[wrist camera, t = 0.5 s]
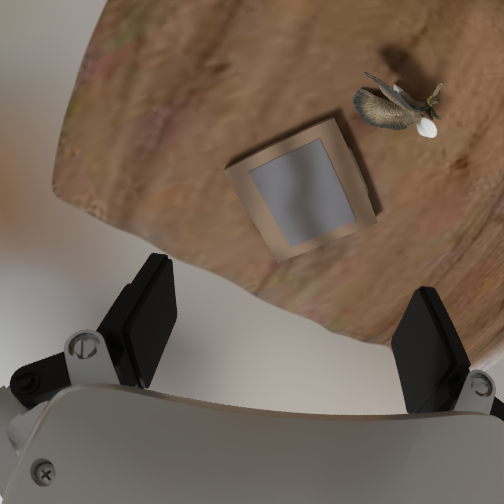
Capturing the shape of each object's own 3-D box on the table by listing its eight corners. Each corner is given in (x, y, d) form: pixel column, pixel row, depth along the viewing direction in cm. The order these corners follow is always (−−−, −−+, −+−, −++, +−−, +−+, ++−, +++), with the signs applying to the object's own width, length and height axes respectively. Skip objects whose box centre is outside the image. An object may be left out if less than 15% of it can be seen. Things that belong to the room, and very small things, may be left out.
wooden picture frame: (334, 115, 31) (336, 116, 30) (377, 216, 37) (380, 222, 36) (225, 167, 36) (222, 171, 35) (278, 256, 42) (277, 263, 41)
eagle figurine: (425, 62, 25) (355, 56, 25) (459, 101, 22) (385, 95, 22) (410, 110, 32) (346, 110, 32) (436, 150, 29) (368, 153, 29)
